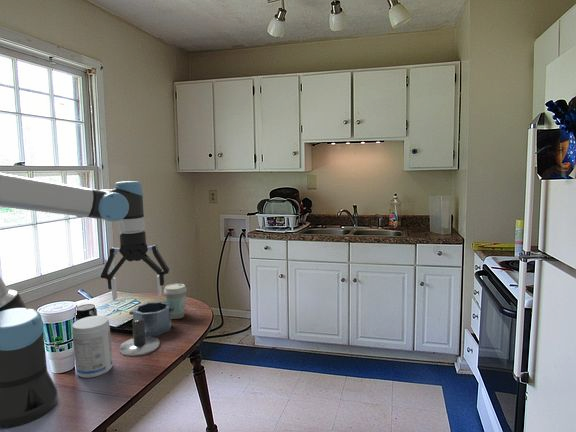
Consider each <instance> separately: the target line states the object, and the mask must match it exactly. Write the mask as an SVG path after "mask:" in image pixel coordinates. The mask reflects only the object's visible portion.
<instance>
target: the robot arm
mask: <svg viewBox="0 0 576 432" xmlns="http://www.w3.org/2000/svg"><path fill="white" fill-rule="evenodd" d="M0 207H1V208H9V209H10V208H11V209H17V210H26V211H33V212H40V213H41V212H43V213H49V214H58V215H59V214H60V215H67V216H75V217H76V218H88V219H89V218H91V219H97V220H103V221H104V220H105V221H107V222H117V223H118V231H119V232H120V233H119V243H120V244H119V245H120V246H119V247H115V246H112V247H111V248H109V256H108V258H107V260H106V262H105V265H104V267H103V269H102V272H101V274H100V278H101V279H105V280H106V281H107V287H108V290H111V295H112V301H116V300H117V299H118V289H117V288H118V287H117V277H114V276H115V275H116V273H117V272H118V271H119V270H120V268H121V267H122V266H123V265H124V263H125V262H126V261H128V262H134V261H135V262H139V261H143V262H144V263H145V264H146V265H147V266H149V267H150V268H151V269H152V270H153V271H154V272H155V273H156V274H157V275H156V286H157V297H158V298H159V297H162V295H163V293H162V291H163V289H162V287H163V286H164V285H165V275H167V274H169V272H170V268H169V266H168V265H167V263H166V261H165V260H164V258H163V256H162V255H161V253H160V252H159V249H158V245H157V244H153V245H149V246H148V245H147V238H146V236H147V235H146V231H145V229H146V222H145V215H144V214H145V213H144V194H143V188H142V184H141V182H140V181H136V180H135V181H134V180H131V181H130V180H126V181H117V182H115V186H114V188H111V189H95V188H89V187H84V186H78V185H72V184H66V183H62V182H55V181H49V180H41V179H36V178H33V177H30V178H29V177H25V176H20V175H19V176H18V175H13V174H8V173H7V174H6V173H2V172H0ZM148 251H150V253H152V254H153V256H154V258H155V259H156V261H157V262H158V264H159V265H160V266H159V265H158V264H156V263H155V261H153V259H151V257H150V256H149V255H148V254H147V253H148ZM118 253H119V254H120V255H121V256H122V257H121V258H120V260H119V262H117V264H116V265H115V266H114V268H113V269H112V270H111V271H110V269H111V266H112V263H113V262H114V259H115V257H116V255H118ZM109 271H110V273H109ZM44 335H45V334H44V321H43V318H42V315H41V313H40V312H39V311H38V310H36V309H35V308H34V309H33V308H28V306H27V305H26V304H25V302H24V300H23V298H22V297H21V295H20V293H19V292H18V290H17V289H13V288H8V287H7V285H6V284H5V282H4V281H3V279H2V277H1V276H0V429H3V428H12V427H13V428H14V427H18V426H21V425H23V424H27V423H29V422H32V421H35V420H37V419H39V418H40V417H43V416H44V415H45V414H47V413H49V412H50V411H51V410H52V409H53V408H54V407H55V406H56V405H57V404H58V401H59V394H58V393H59V391H58V388H57V386H56V384H55V382H54V381H53V378H52V377H51V375H50V374H49V372H48V366H47V357H46V346H45V336H44Z"/></svg>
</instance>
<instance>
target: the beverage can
mask: <svg viewBox="0 0 576 432" xmlns="http://www.w3.org/2000/svg"><path fill="white" fill-rule="evenodd" d="M76 307H77V315H76V321H77V320H80V319H82V318H85V317H90V316H98V309H97V308H96V305H95V304H94V303H86V304H81V305H78V306H76Z"/></svg>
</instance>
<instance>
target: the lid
mask: <svg viewBox="0 0 576 432" xmlns="http://www.w3.org/2000/svg"><path fill="white" fill-rule="evenodd" d="M131 323H132V338H130V339H128V340H126V341H123V342H122V343H121V344H120V346H119V353H120V354H121V355H123V356H126V357H137V356H138V357H139V356H143V355H147V354H150V353H152V352H154V351H155V350H157V349H158V348H159V347H160V339H159V337H158V338H157V337H155V336H145V324H144V319H143V318H137V319H134V320H132V321H131Z"/></svg>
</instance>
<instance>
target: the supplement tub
mask: <svg viewBox="0 0 576 432" xmlns="http://www.w3.org/2000/svg"><path fill="white" fill-rule="evenodd" d="M71 330H72V332H71V333H72V343H73V344H72V345H73V351H74V352H73V354H74V360H75V362H74V363H75V372H76V374H77V376H79V377H80V378H86V379H87V378H90V379H91V378H96V377H100V376H102V375H105V374H106V373H108V372H109V371H110V370H111V369H112V367H113V365H114V362H113V349H112V340H111V338H112V337H111V327H110V322H109V318H108V316H106V315H105V316H104V315H97V316H90V317H85V318H82V319H80V320H77V321H76V322H75V321H74V322H72V329H71Z"/></svg>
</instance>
